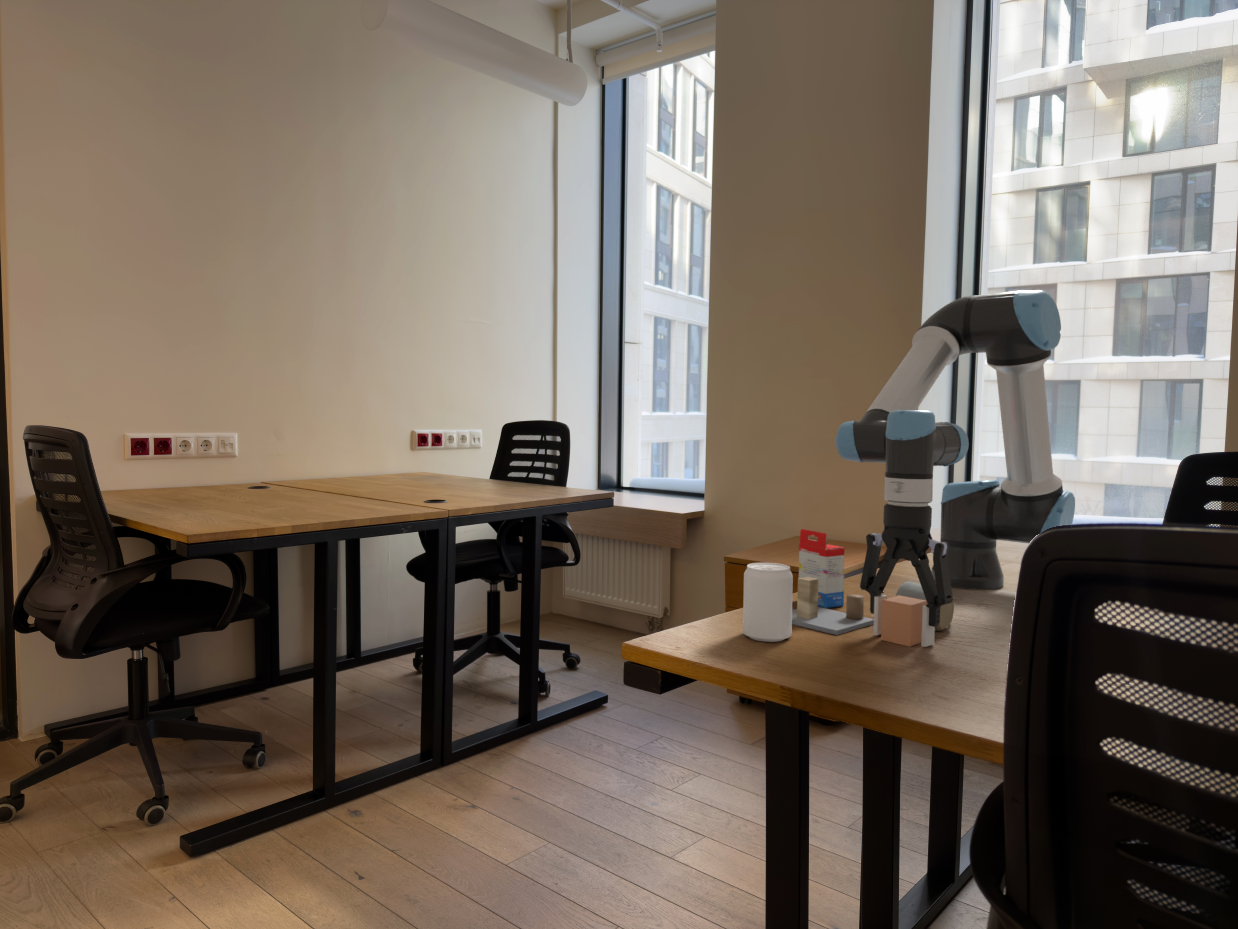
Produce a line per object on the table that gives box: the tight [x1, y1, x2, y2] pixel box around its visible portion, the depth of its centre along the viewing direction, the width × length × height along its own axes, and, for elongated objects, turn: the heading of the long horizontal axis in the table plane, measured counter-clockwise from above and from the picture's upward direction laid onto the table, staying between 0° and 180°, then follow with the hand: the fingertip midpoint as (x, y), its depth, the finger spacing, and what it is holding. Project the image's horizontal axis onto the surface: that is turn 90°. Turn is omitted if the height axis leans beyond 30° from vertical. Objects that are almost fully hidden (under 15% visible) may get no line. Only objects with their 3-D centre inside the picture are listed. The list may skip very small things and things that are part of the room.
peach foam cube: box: [880, 595, 927, 647], centre depth 136 cm, size 5×5×7 cm
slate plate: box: [792, 593, 874, 636], centre depth 148 cm, size 12×14×5 cm
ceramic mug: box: [895, 580, 955, 632], centre depth 146 cm, size 11×8×8 cm
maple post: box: [796, 577, 819, 619], centre depth 148 cm, size 3×3×8 cm
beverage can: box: [742, 562, 794, 643], centre depth 137 cm, size 8×8×12 cm
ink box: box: [798, 528, 845, 609], centre depth 162 cm, size 8×5×15 cm, turn 27°
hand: (903, 639), depth 136 cm, fingers open, 8 cm apart
